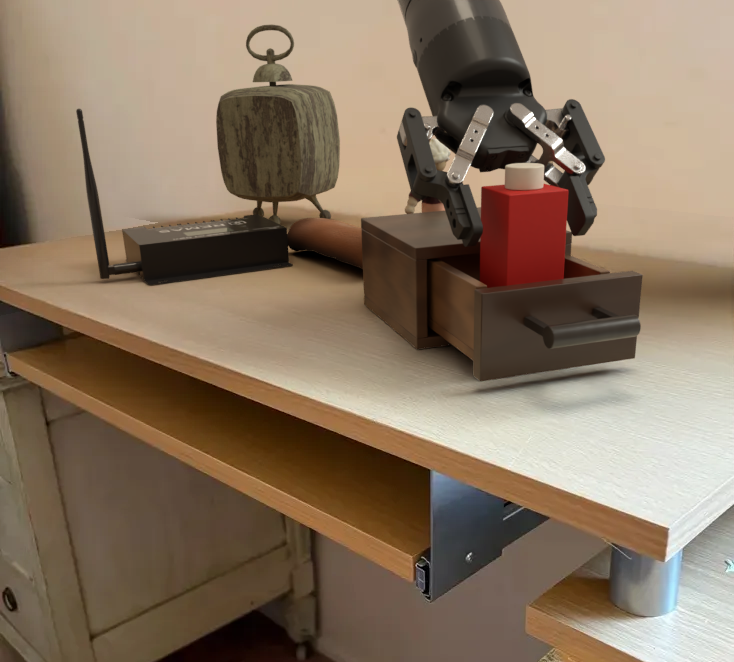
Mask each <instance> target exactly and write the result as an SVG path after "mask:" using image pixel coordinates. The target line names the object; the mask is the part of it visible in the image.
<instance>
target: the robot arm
mask: <svg viewBox="0 0 734 662" xmlns="http://www.w3.org/2000/svg"><path fill="white" fill-rule="evenodd" d="M397 4H398V6H399V9H400V12H401V15H402V18H403V22H404V24H405V27H406V32H407V38H408V44H409V49H410V52H411V56H412V57H411V58H412V63H413V65H414V66H415V68H416V71H417V74H418V77H419V79H420V82H421V85H422V89H423V92H424V95H425V98H426V101H427V103H428V107H429V110H430V114H431V115H427V116H422V113H421V111H420V110H419V109H417V108H416V107H407V108H406V109H405V110H404V112H403V115H402V117H401V121H400V125H399V128H398V130H397V134H396V141H397V144H398V148H399V151H400V152H399V153H400V155H401V160H402V163H403V166H404V171H405V174H406V178H407V181H408V185H409V189H410V191H411V193H412V195H413V196H414V197H415V198H417V199H425V198H426V197H427V196H429V197H434V198H437V199H438V200H439V201H440V202H441V203H442V204H443V205H444V208H445V211H446V214H447V217H448V220H449V224H450V226H451V230H452V233H453V235H454V236H455V237H456V238H457V240H461V239H462V242H463V245H464V246H465V247H471V246H476V245H477V243H478V241H479V239H480V237H481V235H482V233H483V224H482V221H481V218H480V215H479V213H478V210H477V208H478V207H477V205H476V204H477V203H476V201H475V198H474V195H473V192H472V189H471V187H470V184H469V183H467V184H464V181H465V178H466V176H467V175H468V171H469V169H470V167H471V168H474V169H477V170H479V173H490V172H493V171H496V170H505V166H506V165H508V164H515V163H538V164H543V165H544V181H545V182H546V184H547V185H551V186H555V187H559V188H563V189H567V190H568V207H567V224H568V225H567V226H568V227H569V230H570V232H571V233H572V237H580V236H585V235H586V234H587V233H588V231H589V230H590V229H591V227H592V226H593V224H594V223H595V219H596V217H597V216H598V208H597V204H596V203H595V200H594V197H593V195H592V193H591V190H590V188H589V185H590V184H591V183H592V181H593V180H594V178H595V176H596V174H597V173H598V171H599V170H600V168H601V167H602V166H603V165H604V164H605V161H606V157H605V155H604V152H603V150H602V148H601V146H600V143H599V142H598V139H597V137H596V135H595V133H594V131H593V128H592V127H591V126H592V125H591V124H590V122H589V119H588V118H587V115H586V113H585V111H584V109H583V107H582V105H581V103H580V102H579V101H578V100H577V99H574V98H569V99H567V100H566V102H565V103H564V105H563V107H561V108H550V109H545V107H544V106H543V105H542V104H540V102H539V101H537V99H536V98H535V96H534V92H533V91H534V90H533V84H532V78H531V73H530V71H529V69H528V66H527V63H526V60H525V58H524V56H523V53H522V51H521V48H520V45H519V42H518V40H517V37H516V35H515V33H514V31H513V28H512V26H511V23H510V20H509V18H508V15H507V13H506V10H505V9H504V6H503V3H502V2H501V0H397ZM433 136H434V138H435V139H437V140H438V141H439V142H441V143H442V144H443V145H444V146H446V147H447V148H448V149H449V151H450V152H452V153H453V154H455V155H454V157H453V160H452V162H451V164H450V166H449V168H448V170H447V171H444V170H443V171H440V170H437V169H436V165H435V162H434V158H433V155H432V151H431V148H430V141H431V139H433ZM537 145H539V146H540V147H541V149H542V154H541V155H540V157H539V159H538V158H537V157H535V156H534V155H533V153H534V152H535V150H536V148H537ZM554 164H556V165H557V166H558V167H560V168H561V169H562V170H563V172H562V171H560V169H558V168H557V167H556V166H555V165H554Z"/></svg>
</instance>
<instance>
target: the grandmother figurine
mask: <svg viewBox="0 0 734 662" xmlns="http://www.w3.org/2000/svg"><path fill="white" fill-rule="evenodd" d="M430 148H431V151H432V155H433V158H434V162H435V165H436V169H437V170H440V171H444V170H445V168H446V166H447V162H449V161H450V159H451V157H450V156H451V150H449V149H448V148H447V147H446V146H444V145H443V144H442V143H441V142H439V141H438V140H437V139H436V138H431V141H430ZM420 202H421V213H423V212H434V211H445V208H444V205H443V204H442V203H441V202H440V201H439V200H438V199H437V198H434V197H429V196H427V197H426V198H425V199H417V198H415V197H414V196H413V195H412V193H411V190H410V191H409V193H408V199H407V203H406V206H405V207H404V212H405V213H404V214H412V213H415V210H416V207H417V206H418V203H420Z"/></svg>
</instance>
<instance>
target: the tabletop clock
mask: <svg viewBox="0 0 734 662" xmlns="http://www.w3.org/2000/svg"><path fill="white" fill-rule="evenodd" d="M266 31H278V32H280V33H282V34H284V35H285V36H286V37H287V38H288V39H289V42H290V44H289V48H288V49H287V50H286V51H284V52H282V53H279V54H275V50H274V49H273V48H267V49H266V51H265V52H266V54H265V55H262V54H259V53H257V52H255V51H253V50H252V49H251V47H250V46H251V45H250V42H251V40H252V39H253V38H254V36H255V35H257V34H258V33H260V32H266ZM294 47H295V40H294V37H293V35H292V33H291V32H290V31H289V30H288V29H287V28H286V27H284V26H282V25H278V24H263V25H260V26H256V27H254V28H253V29H252V30H250V32H249V34H248V35H247V37H246V41H245V48H246V50H247V52H248V54H249V55H250V56H251V57H252V58H254V59H256V60H258V61H262V62H266V63H265V64H262V65H260V66H259V67H258V68H257V69H256V70H255V72H254V73H253V77H252V79H253V80H252V83H269V85H262V86H261V85H260V86H253V87H252V86H251V87H243V88H237V89H232V90H230V91H227V92H226V93H223V94H221V96H220V97H219V101H218V104H217V109H216V118H215V119H216V120H215V122H216V124H215V125H216V141H217V142H216V143H217V144H216V145H217V152H218V158H219V166H220V173H221V177H222V181H223V184H224V185H225V188H226V190H227V191H228V192H229V194H231V195H232V196H235V197H237V198H239V199H242V200H247V201H254V202H256V207H254V209H253V210H252V215H255V214H258V215H260V216H262V217H264V216H265V210H264V209H263V208H262V205H263V203H272V215H270V217H269V218H268V219H269V220H271V221H273V222H275V223H278V224H280V225H281V218H280V216H278V209H279V203H286V202H287V203H289V202H297V201H301V200H307V201H309V202H310V203H311V204H313V206H314V207H315V208H316V209H317V210H318V211H319V217H318V218H326V219H332V214H331V211H330V210H328V209H323V207H322V205H321V204H320V202H319V200H318V198H317V195H320V194H322V193H326V192H328V191H330V190H332V189H335V187H336V184H337V182H338V178H339V173H340V160H341V159H340V155H341V152H340V151H341V137H340V131H339V130H340V129H339V120H338V113H337V109H336V104H335V101H334V98H333V96H332V93H331V91H330V90H328V89H326V88H323V87H321V86H318V85H311V84H296V83H295V84H294V83H283V84H277V82H292V81H293V78H292V75H291V73H290V71H289V70H288V69H287V67H285V65H282V64H279V63H276V62H277V61H281V60H284V59H285V58H287V57H289V56H290V55H291V54H292V52H293V50H294Z"/></svg>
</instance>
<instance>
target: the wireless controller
mask: <svg viewBox="0 0 734 662" xmlns="http://www.w3.org/2000/svg"><path fill="white" fill-rule="evenodd" d="M75 111H76V118H77V125H78V130H79V137H80V143H81V151H82V158H83V169H84V179H85V190H86V198H87V204H88V210H89V217H90V222H91V230H92V236H93V242H94V247H95V254H96V259H97V260H96V261H97V265H98V272H99V278H100V279H101V280H108V279H109V278H110V276H118V275H126V274H135V273H136V274H137V275H138V276H139V277H140V279H142V281H143V282H145V284H146V285H148V286H156V285H163V284H170V283H179V282H186V281H193V280H200V279H201V280H202V279H207V278H214V277H216V278H217V277H221V276H230V275H237V274H244V273H252V272H257V271H259V272H260V271H266V270H273V269H281V268H287V267H289V268H290V267H293V266H294V264H293V263H291V262H290V254H289V246H288V238H287V234H288V228H287V227H286V226H284V225H282V224H281V223H280V224H278V223H275V222H273V221H271V220H269V218H267V217H264V216H263V217H262V216H260V215H258V214H255V215H253V214H248V215H243V217H242V218H239V217H235V218H232V219H231V218H227V219H222V218H221V219H220V220H215V219H213V220H212V219H211V220H210V221H205V220H203V221H202V222H197V221H195V222H194V223H189V222H187V223H186V224H181V223H177V224H176V225H171V224H168V226H163V225H161V226H160V227H155V226H152V228H147V227H145V226H138V227H137V226H136V227H130V228H128V227H127V228H122V229H121V232H122V237H123V238H122V239H123V245H124V252H125V253H124V254H125V262H121V263H113V264H110V260H109V253H108V246H107V240H106V234H105V233H106V232H105V229H104V228H105V227H104V222H103V215H102V209H101V201H100V197H99V190H98V186H97V181H96V177H95V174H94V169H93V165H92V161H91V155H90V150H89V145H88V138H87V133H86V126H85V120H84V114H83V110H82V109H81V108H77V109H76V110H75Z"/></svg>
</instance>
